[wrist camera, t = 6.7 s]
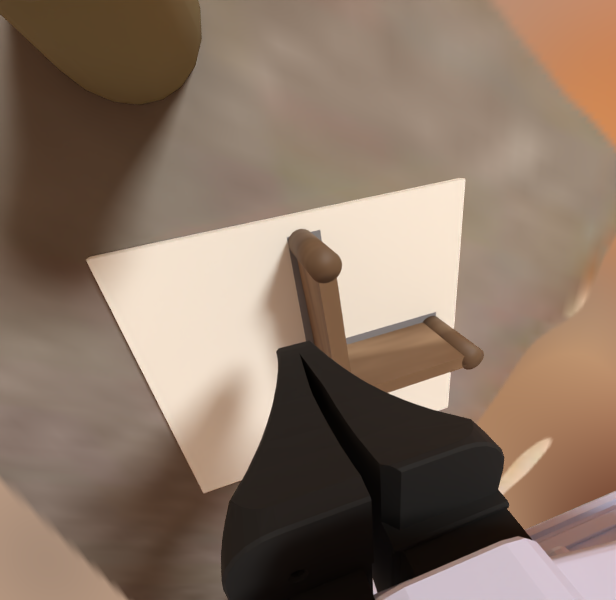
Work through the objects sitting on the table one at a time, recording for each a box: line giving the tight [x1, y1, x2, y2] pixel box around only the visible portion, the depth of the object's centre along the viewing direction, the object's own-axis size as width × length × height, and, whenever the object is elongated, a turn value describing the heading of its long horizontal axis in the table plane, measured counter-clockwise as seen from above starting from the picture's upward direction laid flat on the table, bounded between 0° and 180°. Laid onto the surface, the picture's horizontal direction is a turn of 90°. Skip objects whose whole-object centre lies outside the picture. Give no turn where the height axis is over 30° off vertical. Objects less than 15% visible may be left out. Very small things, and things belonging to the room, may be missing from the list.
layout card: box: [86, 178, 465, 493], centre depth 20 cm, size 18×20×1 cm
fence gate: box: [288, 229, 351, 372], centre depth 16 cm, size 1×7×4 cm, turn 10°
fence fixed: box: [347, 316, 484, 393], centre depth 19 cm, size 2×9×4 cm, turn 99°
